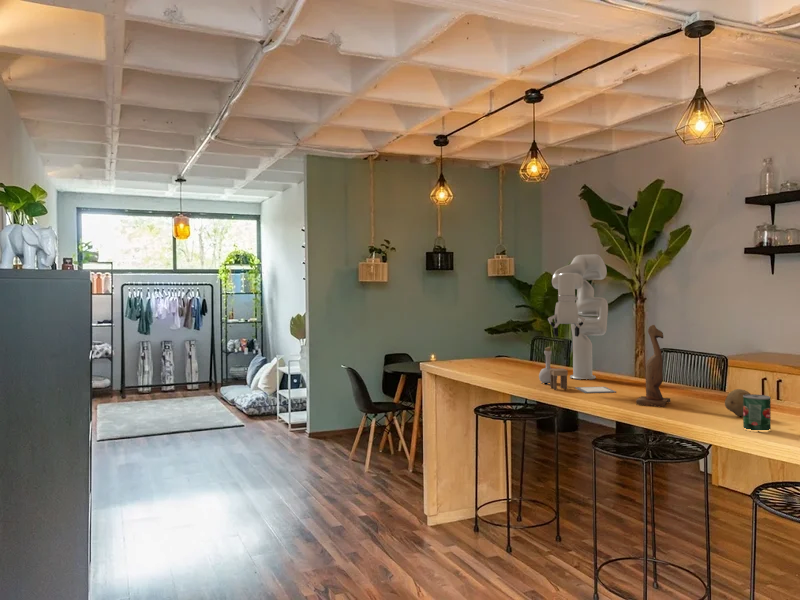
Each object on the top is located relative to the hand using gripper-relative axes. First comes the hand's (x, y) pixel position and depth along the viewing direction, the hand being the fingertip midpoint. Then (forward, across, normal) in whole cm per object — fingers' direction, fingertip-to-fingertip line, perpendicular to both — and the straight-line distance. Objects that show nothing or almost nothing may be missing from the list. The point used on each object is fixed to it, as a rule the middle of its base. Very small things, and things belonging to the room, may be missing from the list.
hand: (566, 336), depth 294 cm
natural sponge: (+26, -40, +69) cm, 84 cm away
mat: (+24, -11, +6) cm, 27 cm away
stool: (+24, +4, 0) cm, 25 cm away
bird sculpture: (+25, -21, +41) cm, 53 cm away
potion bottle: (+24, +3, -17) cm, 30 cm away
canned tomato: (+27, -33, +89) cm, 98 cm away
